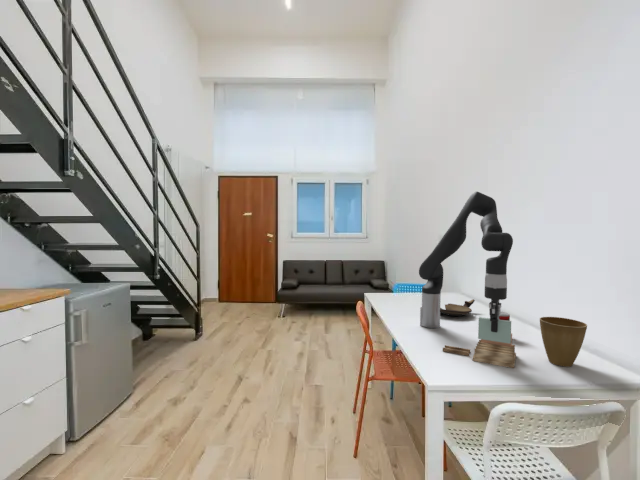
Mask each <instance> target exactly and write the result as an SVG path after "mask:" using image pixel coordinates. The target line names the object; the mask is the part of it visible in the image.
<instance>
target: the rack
mask: <svg viewBox="0 0 640 480" xmlns="http://www.w3.org/2000/svg"><path fill="white" fill-rule="evenodd" d="M515 350H516V345H515V344H512V347H508V346H502V345H496V344H490V343H483V342H481V339H478V341H477V343H476V345H475V348H474V354H473V355H472V361H474V362H479V363H484V364H490V365H495V366H500V367H504V368H505V367H506V368H509V369H510V368H511V369H515V363H516V358H517V352H516V351H515Z"/></svg>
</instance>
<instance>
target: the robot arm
mask: <svg viewBox="0 0 640 480" xmlns="http://www.w3.org/2000/svg"><path fill="white" fill-rule="evenodd" d="M471 213H473V214H475V215H477V216H479V217H482V219H481V220H480V229H481V232H482V238H481V243H480V244H481V248H482V249H483V250H485V251H487V252H500V253H499V254H498V255H497V256H492V257H488V258H487V259H486V260H485V276H484V298H486V299H490V301H489V303H488V308H489V313H488V314H489V318H490V321H491V332H497V331H498V319H499V317H500V312H502V311H501V310H502V303H501V302H500V301H504V300H506V299H507V298H508V297H507V295H508V294H507V293H508V278H507V276H508V275H507V268H508V267H507V265H508V261H509V256H510V252H511V250H512V247H513V243H514V239H513V236H512V234H510V233H509V232H503V227H502V226H501V223H500V220H499V218H498V209H497V202H496V201H495V199H494V198H493V197H491V196H488V195H486V194H484V193H482V192H479V191H474V192H472V193H471V195H470V196H469V197H468V199H467V200H466V202H465V203H464V205H463V207H462V208H461V210H460V212H459V213H458V215H457V216H456V218H455V220H454V221H453V223H452V224H451V225H450V227H448V229H447V230H446V232H445V233H444V235H443V236H442V237H441V238H440V241H439V242H438V243H437V244H436V246H435V247H434V249H433V250H432V252H431V253H429V255H428V256H427V257H426V258H425V259H424V261H422V263H421V264H420V265H419V268H418V275H419V277H420V278H421V279H423V280H425V281H427V282H426V283H425V284H424V285H423V286H422V287H421V306H420V308H419V309H420V311H419V312H420V313H419V326H421V327H423V328H427V329H428V328H429V329H437V328H438V329H439V328H440V327H441V312H440V308H441V293H442V291H441V290H442V289H443V286H444V285H443V283H444V266H443V265H442V263H443V262H444V261H445V260H447V259H449V258H450V257H451V256H452V255H454V254H455V253H456V252H457V251H458V250H459V249H460V248H461V246H462V245H463V244H464V242H465V241H466V238H467V223H468V218H469V216H470V215H471Z"/></svg>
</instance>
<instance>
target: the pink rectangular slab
mask: <svg viewBox="0 0 640 480" xmlns="http://www.w3.org/2000/svg"><path fill="white" fill-rule="evenodd" d="M480 340H481V342H483V343H490V344H496V345H502V346H508V347H512V345H513V333H512V332H511V344H510V343H503V342H496V341H490V340H483V339H480Z"/></svg>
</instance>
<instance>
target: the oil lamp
mask: <svg viewBox="0 0 640 480" xmlns="http://www.w3.org/2000/svg"><path fill="white" fill-rule="evenodd" d="M475 301H476V300H475V298H474V299H471V300H470V301H467V300H465V301H464V303H463V305H462V304H461V305H460V304H454V303H448V304H444V308H445V309H443V308H442V307H440V314H444V315H447V316H451V317H453V316H455V317H461V316H465V315H468V314H471V313H472V312H473V311H472V308H471V306H472V305H473V304H474V303H475Z"/></svg>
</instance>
